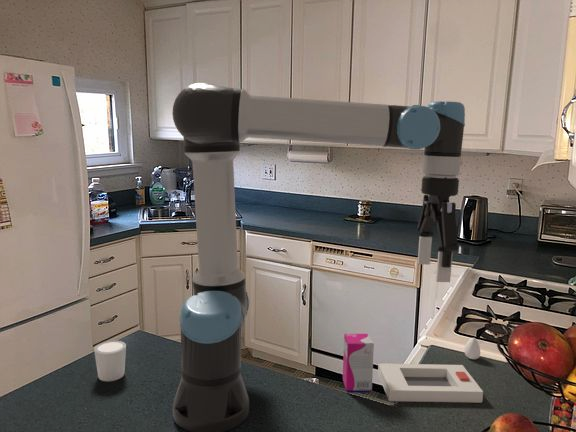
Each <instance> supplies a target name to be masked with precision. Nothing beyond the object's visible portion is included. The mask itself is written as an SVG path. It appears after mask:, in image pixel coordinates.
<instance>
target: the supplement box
mask: <svg viewBox="0 0 576 432" xmlns="http://www.w3.org/2000/svg"><path fill="white" fill-rule="evenodd" d="M374 346H375V343H374V341H373V339H372V338H371V336H370V334H369V333H344V337H343V356H342V357H343V358H342V360H343V361H342V364H343V365H342V381H343V385H344V389H345V391H346V393H349V394H350V393H351V394H352V393H371V394H372V391H373V374H374V373H373V372H374V371H373V370H374Z"/></svg>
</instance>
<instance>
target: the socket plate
mask: <svg viewBox="0 0 576 432" xmlns="http://www.w3.org/2000/svg"><path fill="white" fill-rule="evenodd" d="M377 368H378V369H377V374H378V377H379V379H380V383H381V385H382V387H383V389H384V392H385V395H386V397H387V399H388V402H417V403H418V402H419V403H421V402H423V403H425V402H427V403H431V402H433V403H477V404H478V403H483V398H484V391H483V389H482V387H480V385H479V384H478V383H477V381H475V379H474V378H473V376H472V375H471V374H470V373H469V372H468V370H467V369H466V367H465V366H464V365H463V364H433V363H432V364H429V363H427V364H426V363H425V364H422V363H378V366H377ZM399 398H400V399H399Z"/></svg>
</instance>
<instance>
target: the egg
mask: <svg viewBox="0 0 576 432" xmlns="http://www.w3.org/2000/svg"><path fill="white" fill-rule="evenodd" d="M463 351H464V354H465V357H467V358H468V359H470V360H477V359H479V358H480V356H481V348H480V344H479V342H478V340H477V339H476V338H475V337H471V338H470V339H469V340H468V341H467V342H466V343H465V346H464V350H463Z"/></svg>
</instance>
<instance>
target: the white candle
mask: <svg viewBox="0 0 576 432" xmlns="http://www.w3.org/2000/svg"><path fill="white" fill-rule="evenodd" d="M93 351H94V359H95V365H96V369H97V370H96V371H97V377H98V379H99V380H100V381H102V382H114V381H117V380H119V379H122V378H123V377H124V376H125V371H126V370H125V367H126V353H127V344H126V342H123V341H121V340H108V341H104V342H101V343H98V344H97V345H95V346H94V348H93Z"/></svg>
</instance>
